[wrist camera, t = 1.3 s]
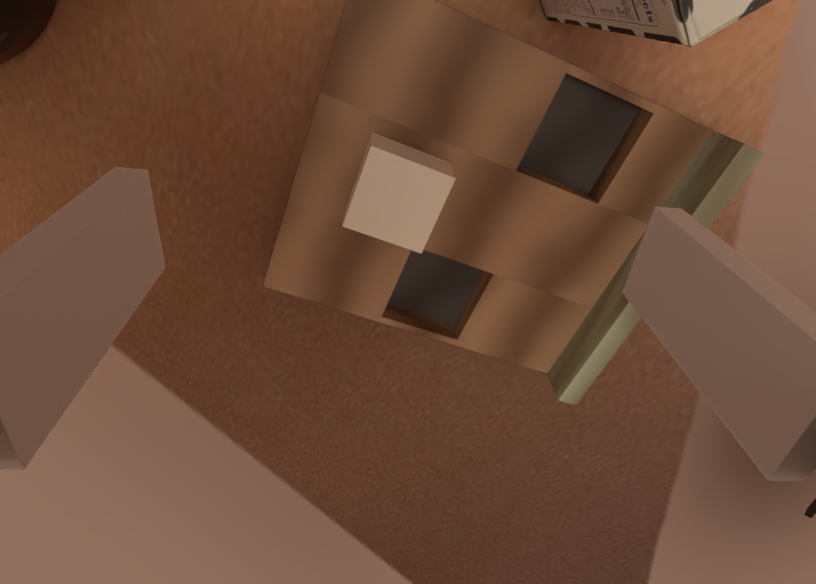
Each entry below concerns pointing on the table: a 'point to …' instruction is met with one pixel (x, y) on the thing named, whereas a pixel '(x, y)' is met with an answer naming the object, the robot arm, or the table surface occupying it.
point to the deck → (493, 190)
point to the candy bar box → (653, 16)
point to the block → (398, 193)
